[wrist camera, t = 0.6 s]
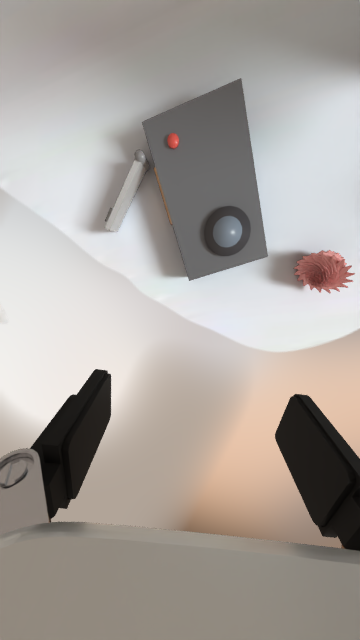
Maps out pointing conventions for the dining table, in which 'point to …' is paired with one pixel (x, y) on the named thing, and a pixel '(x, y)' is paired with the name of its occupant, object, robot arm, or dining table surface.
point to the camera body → (209, 180)
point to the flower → (323, 271)
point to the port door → (127, 192)
